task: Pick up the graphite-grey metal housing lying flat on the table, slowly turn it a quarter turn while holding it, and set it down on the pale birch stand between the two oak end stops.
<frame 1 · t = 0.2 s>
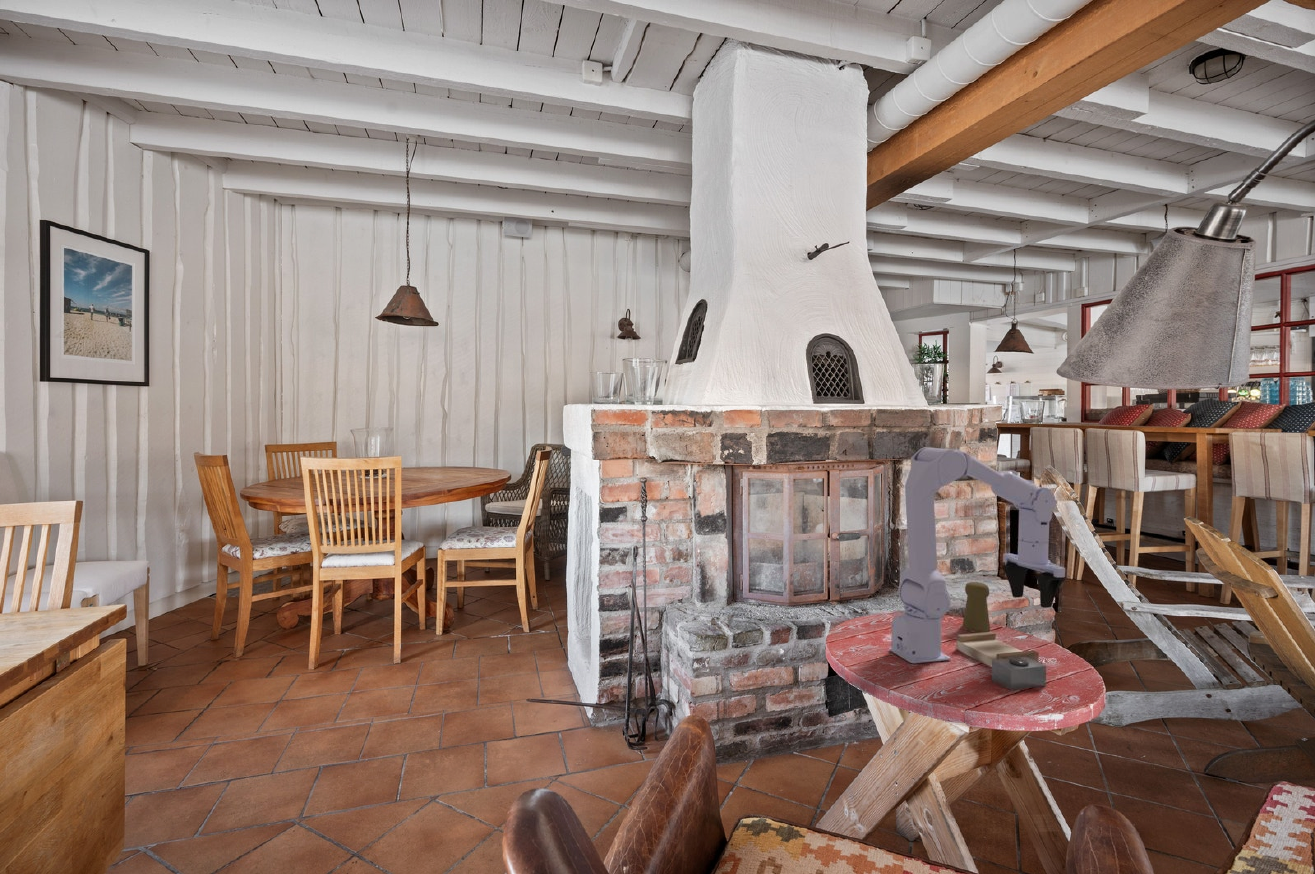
hand: (1031, 601, 136), 10 cm above the table, fingers open, 7 cm apart
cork: (976, 629, 149), on the table
housing: (1018, 683, 118), on the table
stand: (995, 658, 130), on the table
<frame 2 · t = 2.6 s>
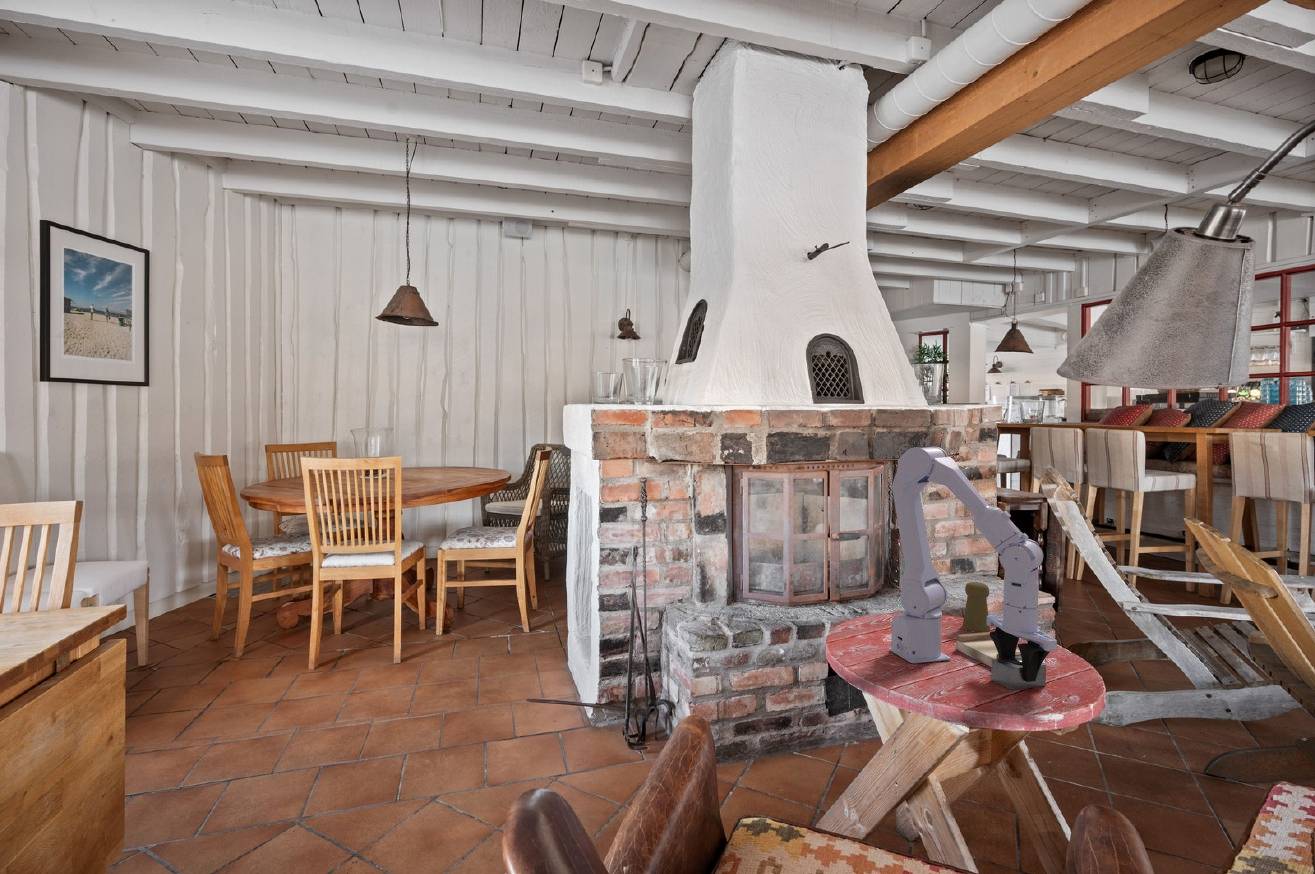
hand: (1018, 675, 118), 1 cm above the table, fingers closed on housing, 5 cm apart
housing: (1018, 682, 118), on the table, touching gripper
everything else where it was.
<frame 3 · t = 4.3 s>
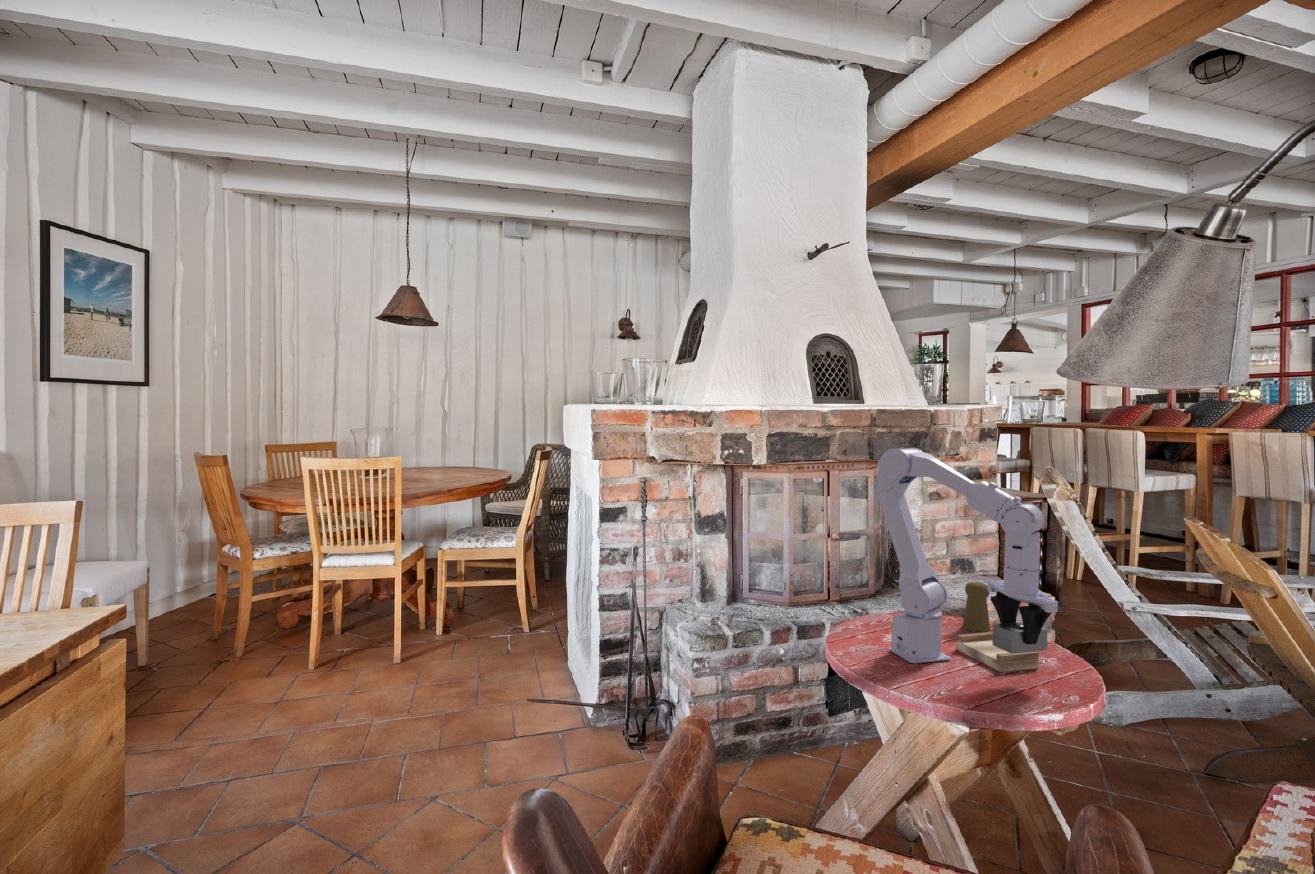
hand: (1019, 638, 118), 8 cm above the table, fingers closed on housing, 5 cm apart
housing: (1019, 647, 118), point 7 cm above the table, touching gripper
everything else where it was.
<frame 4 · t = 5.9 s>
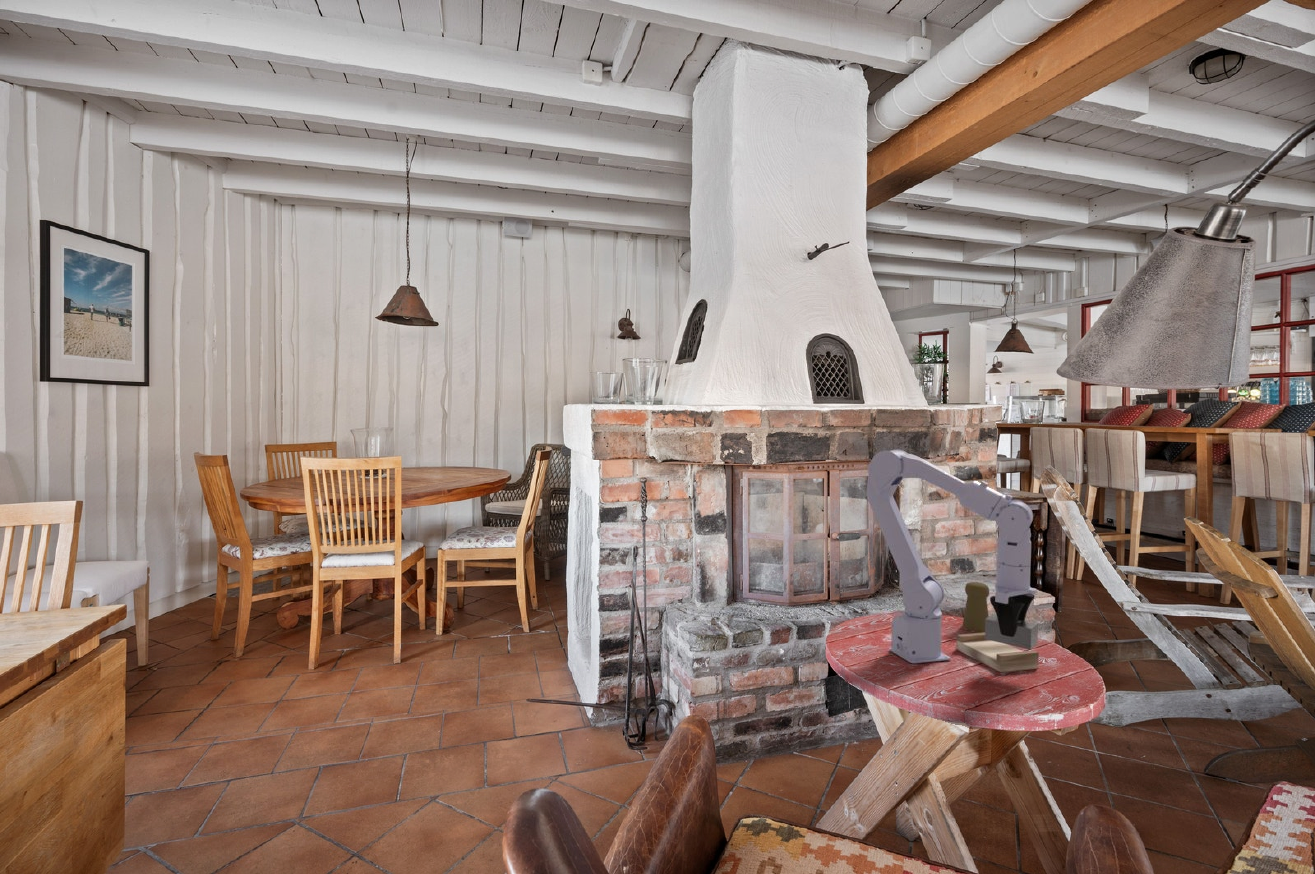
hand: (1011, 632, 121), 8 cm above the table, fingers closed on housing, 5 cm apart
housing: (1010, 641, 121), point 7 cm above the table, touching gripper
everything else where it was.
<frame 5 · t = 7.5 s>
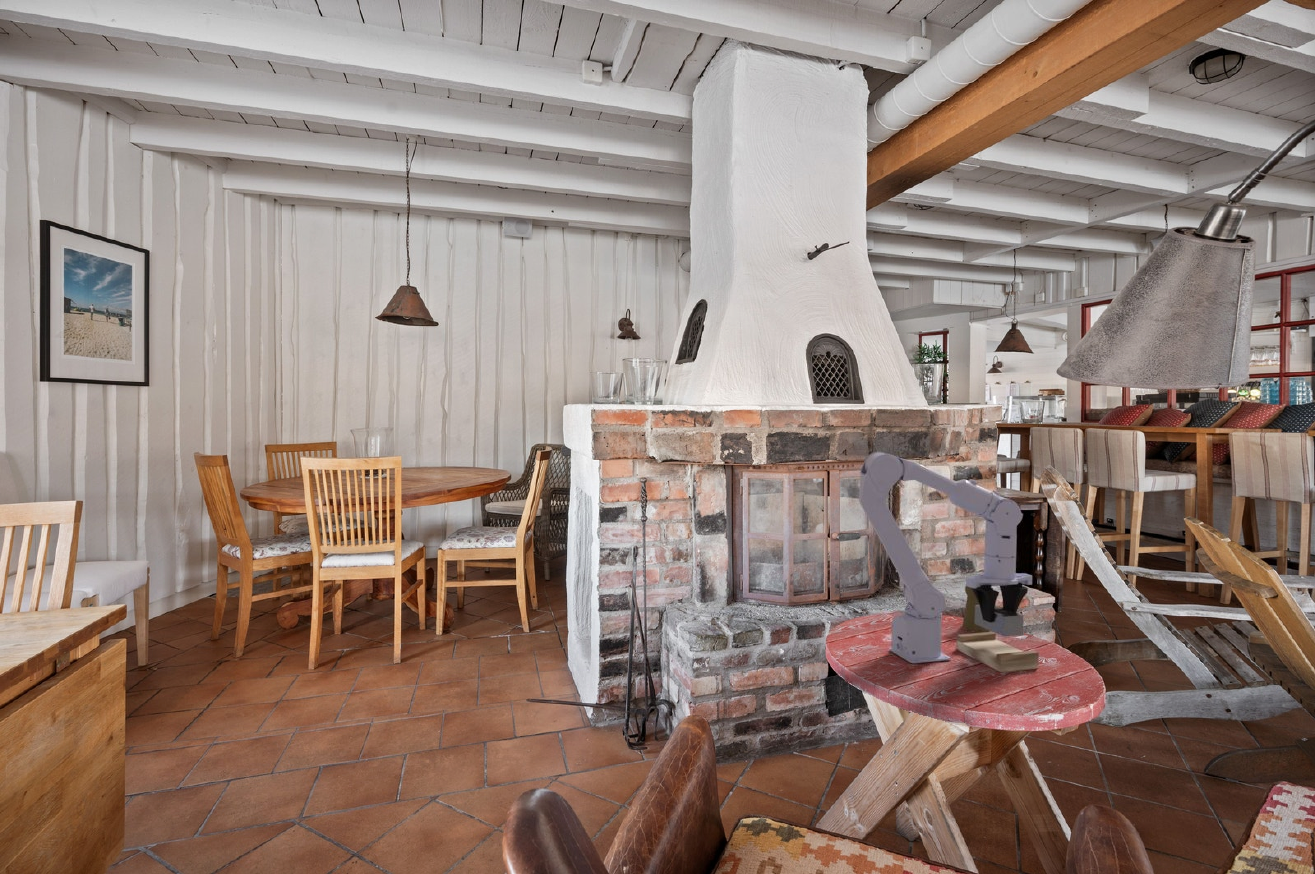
hand: (998, 620, 129), 8 cm above the table, fingers closed on housing, 5 cm apart
housing: (998, 629, 129), point 6 cm above the table, touching gripper
everything else where it was.
when the fingers open (5 cm above the table, at t = 9.2 s): housing drops 1 cm, resting on stand.
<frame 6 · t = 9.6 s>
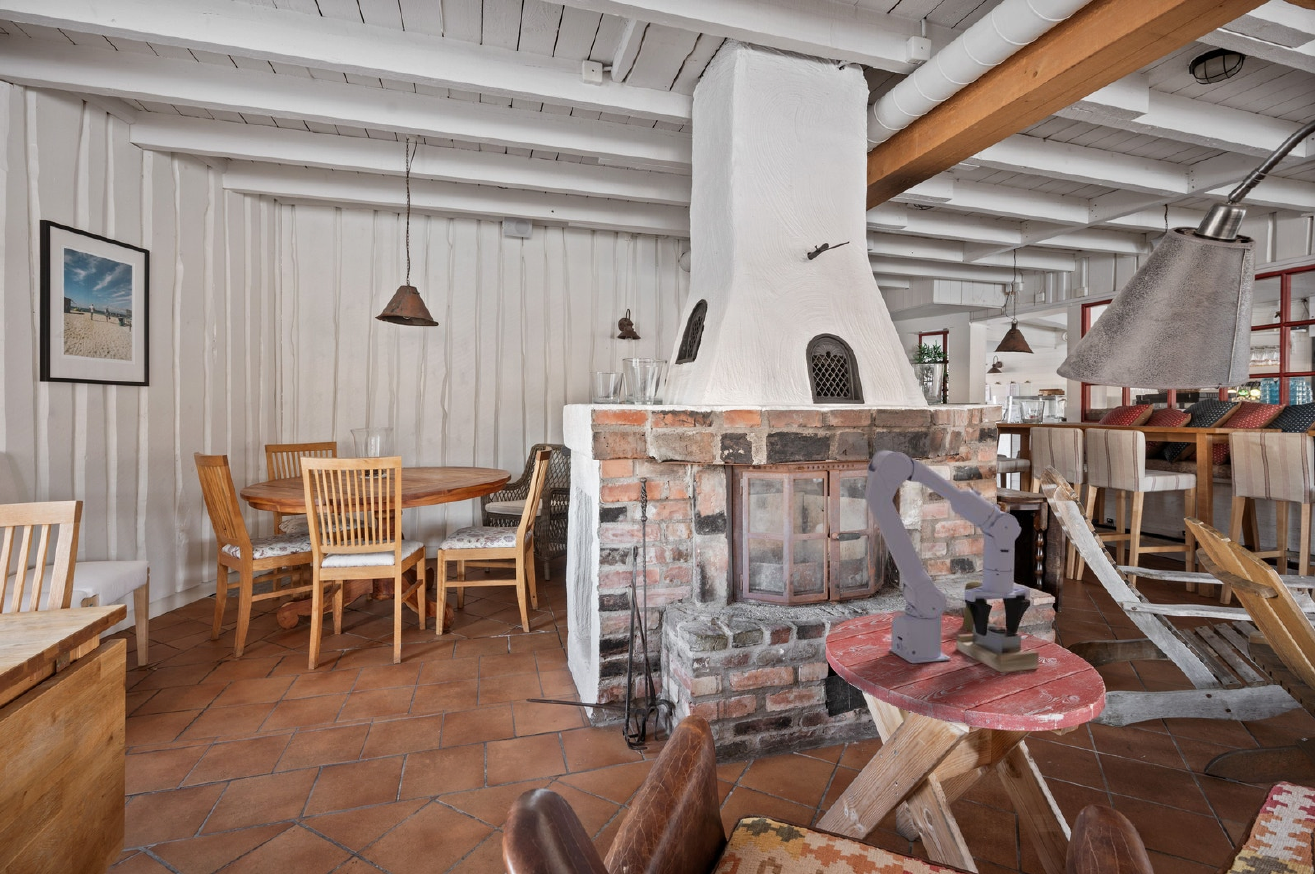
hand: (996, 632, 130), 5 cm above the table, fingers open, 7 cm apart
housing: (995, 648, 130), point 2 cm above the table, touching stand
everything else where it was.
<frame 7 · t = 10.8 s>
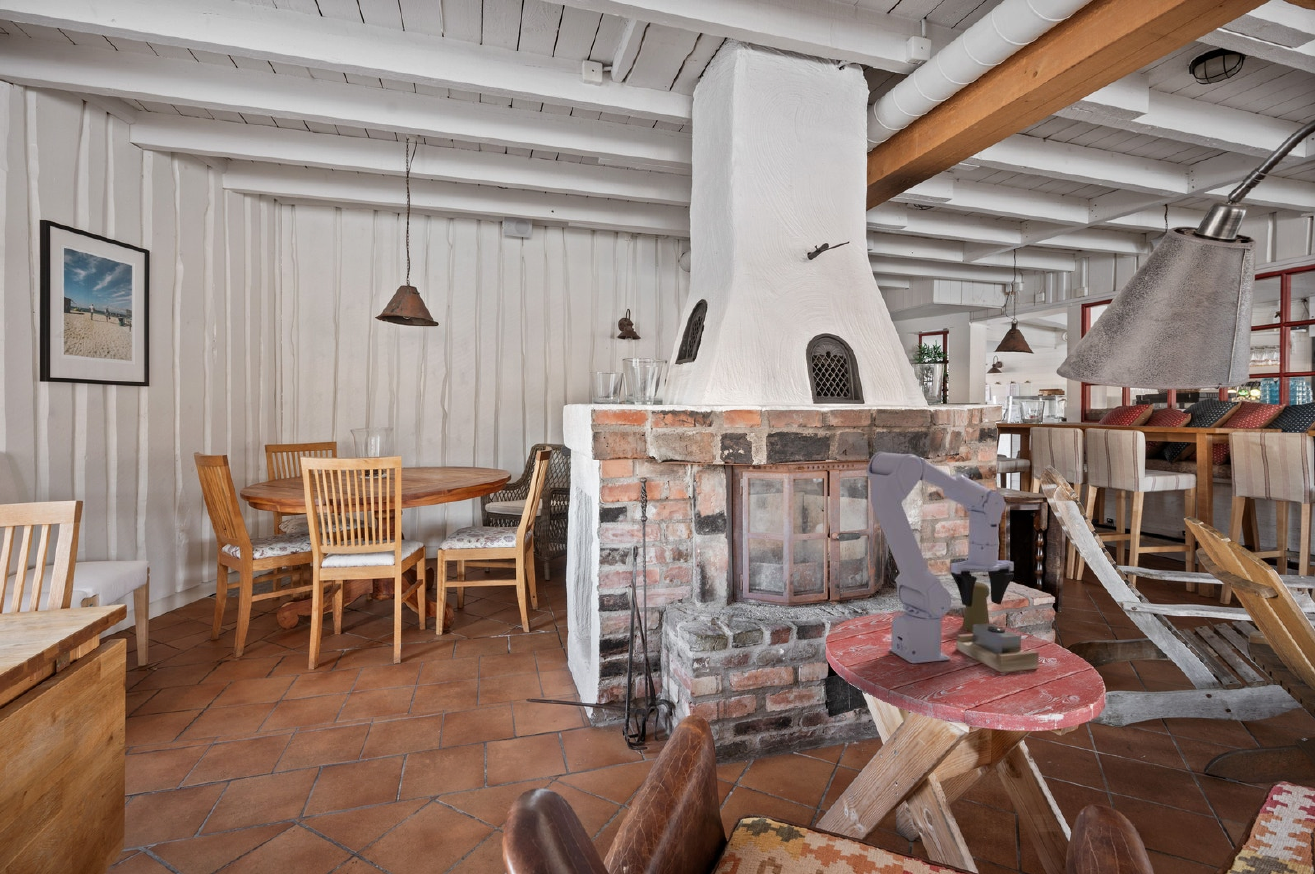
hand: (981, 604, 136), 9 cm above the table, fingers open, 7 cm apart
nothing on the table moved.
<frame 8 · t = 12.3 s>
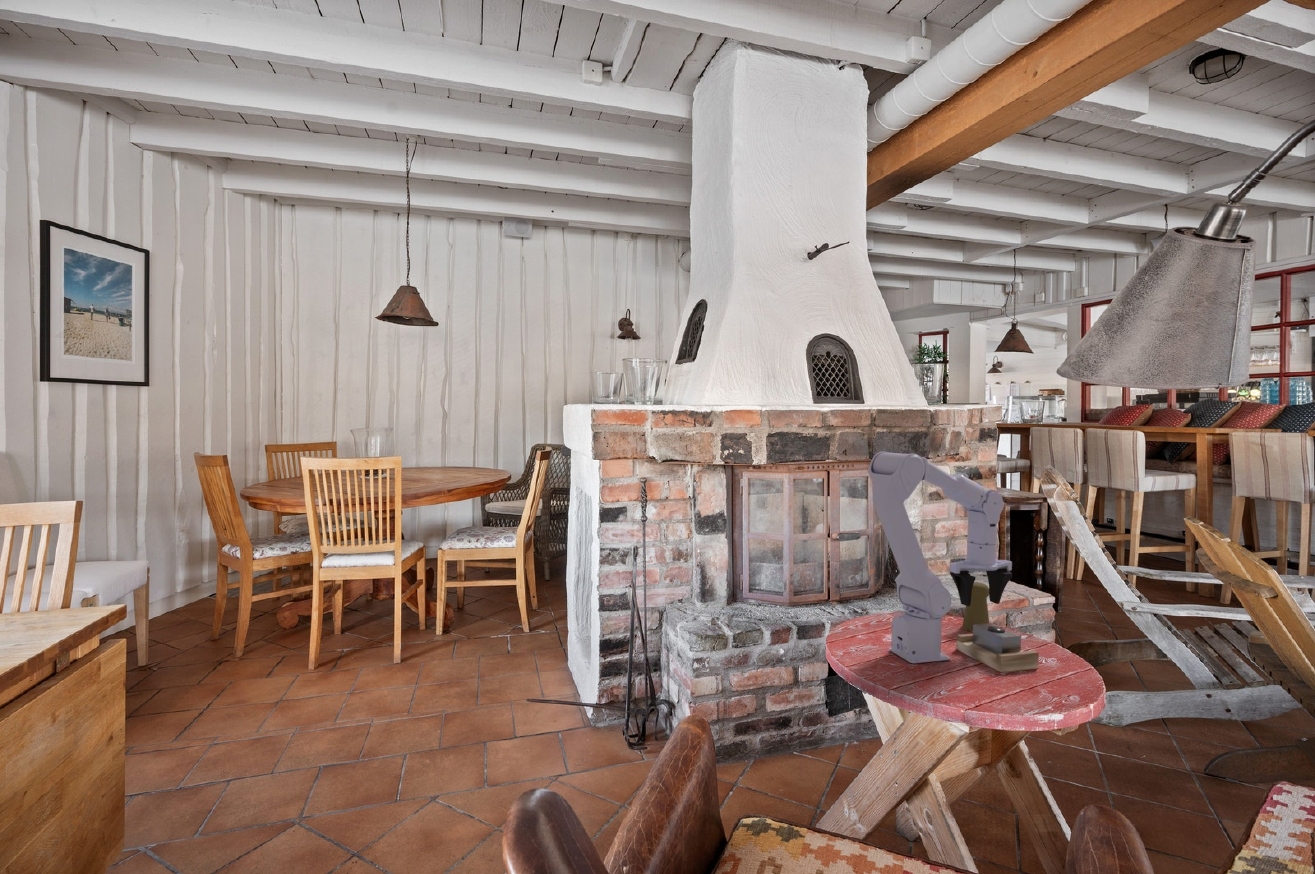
hand: (980, 603, 137), 9 cm above the table, fingers open, 7 cm apart
nothing on the table moved.
at the end: housing 0.0 cm off-centre on the stand, point 2.0 cm above the stand's base; housing tilted 0°; the gripper is holding nothing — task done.
